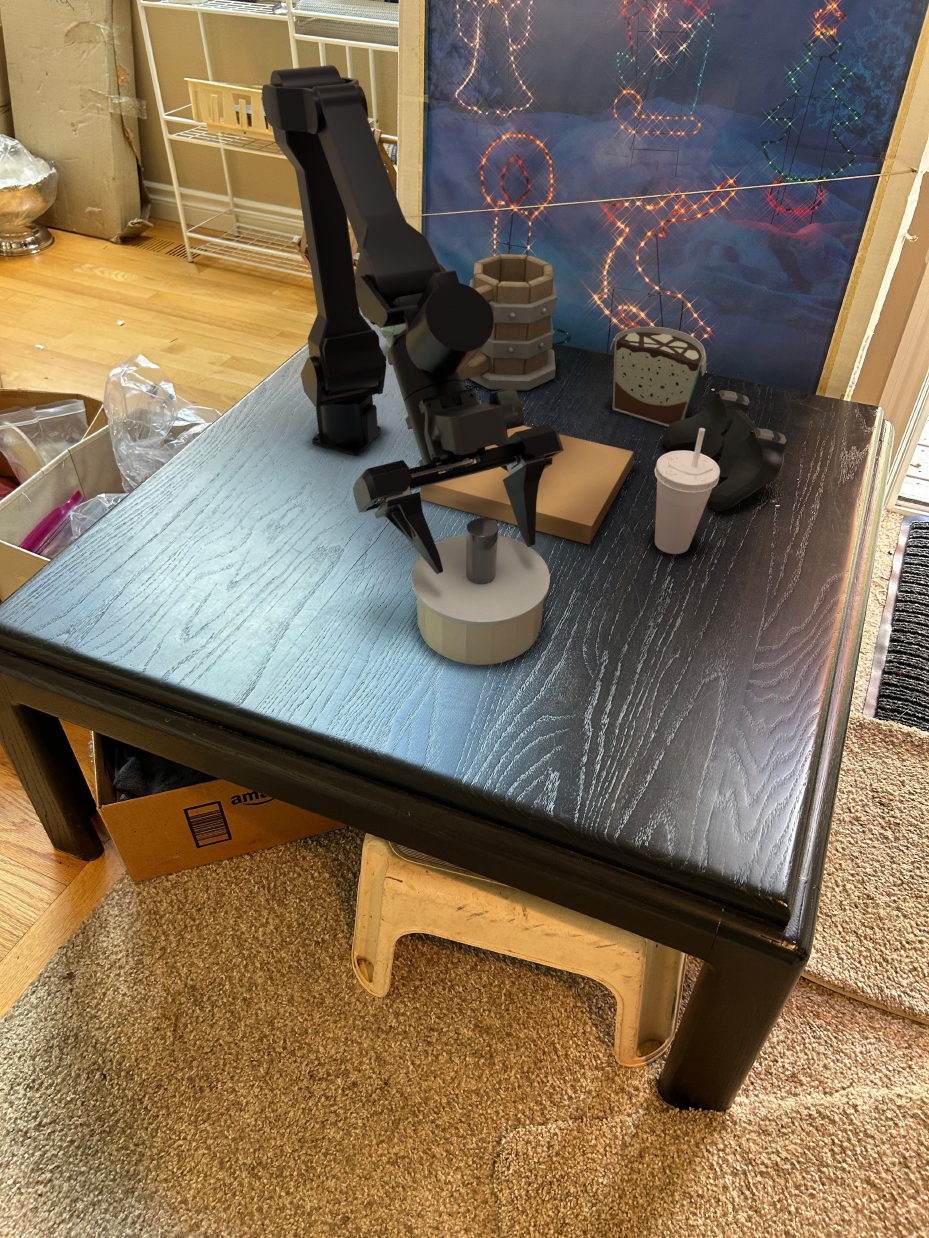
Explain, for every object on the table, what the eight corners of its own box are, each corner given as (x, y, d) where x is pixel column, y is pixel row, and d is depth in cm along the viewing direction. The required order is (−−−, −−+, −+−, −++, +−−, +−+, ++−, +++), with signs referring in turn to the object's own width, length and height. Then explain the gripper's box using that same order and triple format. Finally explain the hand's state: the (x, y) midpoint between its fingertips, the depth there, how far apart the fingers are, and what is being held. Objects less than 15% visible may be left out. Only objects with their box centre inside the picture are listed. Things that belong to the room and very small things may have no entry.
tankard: (508, 339, 132) (513, 235, 122) (572, 370, 125) (583, 262, 115) (404, 384, 122) (400, 274, 112) (468, 420, 115) (470, 306, 105)
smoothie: (701, 565, 94) (730, 450, 85) (640, 557, 95) (661, 442, 85) (702, 529, 99) (729, 416, 89) (643, 521, 100) (664, 408, 90)
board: (420, 499, 102) (420, 481, 100) (476, 432, 113) (476, 414, 111) (589, 544, 96) (591, 526, 95) (630, 469, 107) (633, 451, 106)
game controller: (755, 529, 103) (813, 458, 98) (712, 514, 100) (770, 439, 95) (695, 454, 115) (744, 387, 110) (655, 438, 111) (703, 368, 106)
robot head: (386, 363, 126) (384, 317, 122) (367, 353, 128) (364, 307, 124) (428, 346, 130) (428, 300, 126) (410, 336, 132) (408, 291, 128)
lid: (388, 606, 82) (384, 549, 77) (446, 529, 90) (446, 473, 86) (519, 647, 78) (524, 589, 73) (567, 562, 87) (574, 506, 82)
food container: (708, 413, 117) (724, 340, 110) (690, 434, 113) (706, 360, 107) (622, 387, 122) (632, 316, 115) (602, 406, 118) (611, 334, 111)
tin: (397, 642, 85) (395, 599, 81) (449, 570, 93) (449, 528, 89) (513, 680, 82) (516, 637, 78) (557, 601, 90) (561, 559, 86)
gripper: (354, 383, 70) (414, 575, 70) (562, 339, 76) (616, 516, 76) (329, 425, 81) (382, 592, 81) (513, 384, 87) (562, 538, 87)
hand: (486, 559), depth 81 cm, fingers open, 9 cm apart
